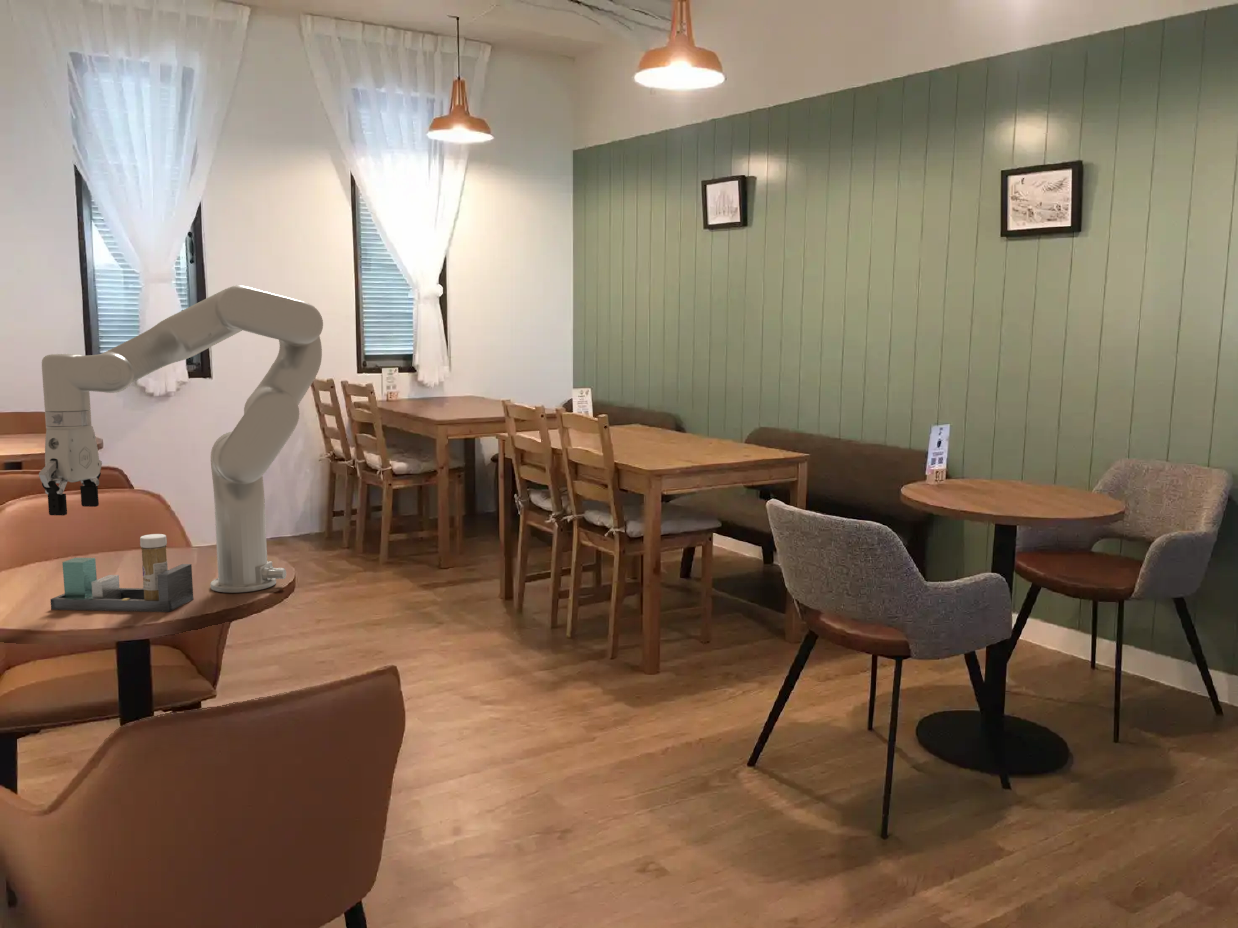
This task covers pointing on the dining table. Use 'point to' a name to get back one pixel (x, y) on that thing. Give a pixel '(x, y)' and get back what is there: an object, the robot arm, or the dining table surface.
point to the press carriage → (88, 581)
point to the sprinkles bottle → (153, 563)
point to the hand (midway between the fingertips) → (74, 510)
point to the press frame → (139, 595)
